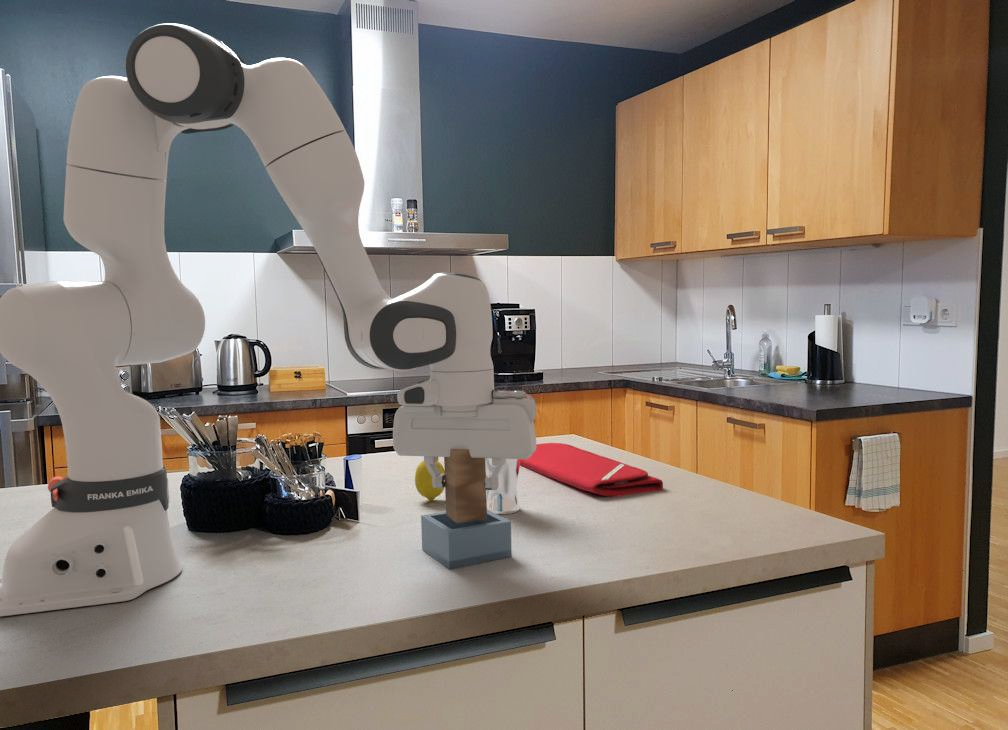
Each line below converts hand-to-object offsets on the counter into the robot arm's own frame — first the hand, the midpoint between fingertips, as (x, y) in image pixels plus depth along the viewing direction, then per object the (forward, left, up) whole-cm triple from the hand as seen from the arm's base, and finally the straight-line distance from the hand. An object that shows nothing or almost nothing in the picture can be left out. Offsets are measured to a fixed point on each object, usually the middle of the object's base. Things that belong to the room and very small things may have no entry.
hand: (465, 488), depth 106 cm
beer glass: (+15, +17, -10) cm, 25 cm away
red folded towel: (+42, +34, -10) cm, 55 cm away
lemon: (+7, +29, -10) cm, 32 cm away
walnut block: (0, 0, -4) cm, 4 cm away
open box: (0, 0, -9) cm, 9 cm away
